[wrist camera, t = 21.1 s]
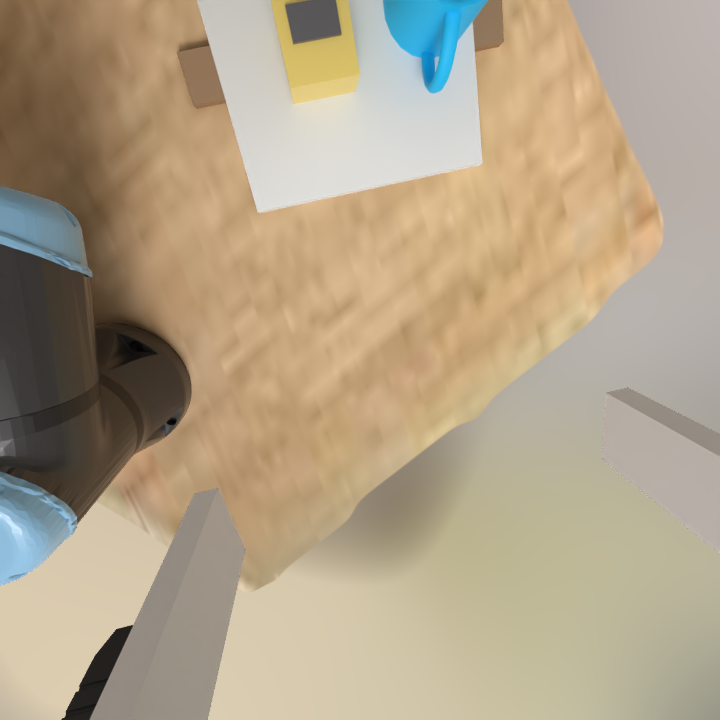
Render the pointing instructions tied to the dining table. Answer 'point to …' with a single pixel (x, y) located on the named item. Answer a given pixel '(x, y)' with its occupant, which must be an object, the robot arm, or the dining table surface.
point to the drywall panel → (337, 105)
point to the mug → (431, 32)
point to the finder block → (317, 47)
